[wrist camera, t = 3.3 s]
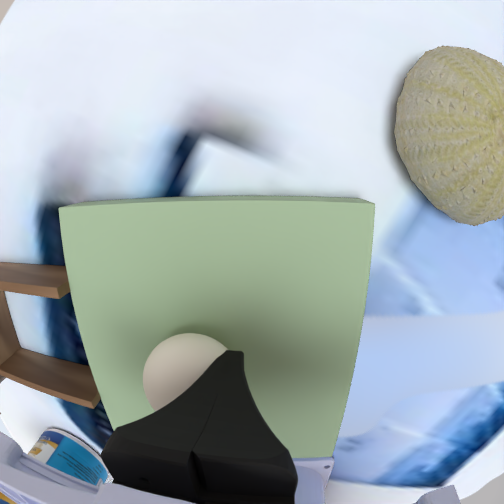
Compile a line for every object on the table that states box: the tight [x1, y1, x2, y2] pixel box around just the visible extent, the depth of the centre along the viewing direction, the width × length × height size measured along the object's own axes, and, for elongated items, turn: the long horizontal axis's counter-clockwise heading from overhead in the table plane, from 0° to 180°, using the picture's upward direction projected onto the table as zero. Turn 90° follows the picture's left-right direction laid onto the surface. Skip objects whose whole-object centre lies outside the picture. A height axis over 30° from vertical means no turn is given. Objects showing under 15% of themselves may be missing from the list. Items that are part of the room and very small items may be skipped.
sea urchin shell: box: [394, 46, 504, 226], centre depth 11 cm, size 9×8×8 cm
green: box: [59, 196, 375, 458], centre depth 16 cm, size 16×15×2 cm
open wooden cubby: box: [0, 262, 101, 414], centre depth 15 cm, size 11×11×7 cm
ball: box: [143, 333, 228, 411], centre depth 12 cm, size 4×4×4 cm
